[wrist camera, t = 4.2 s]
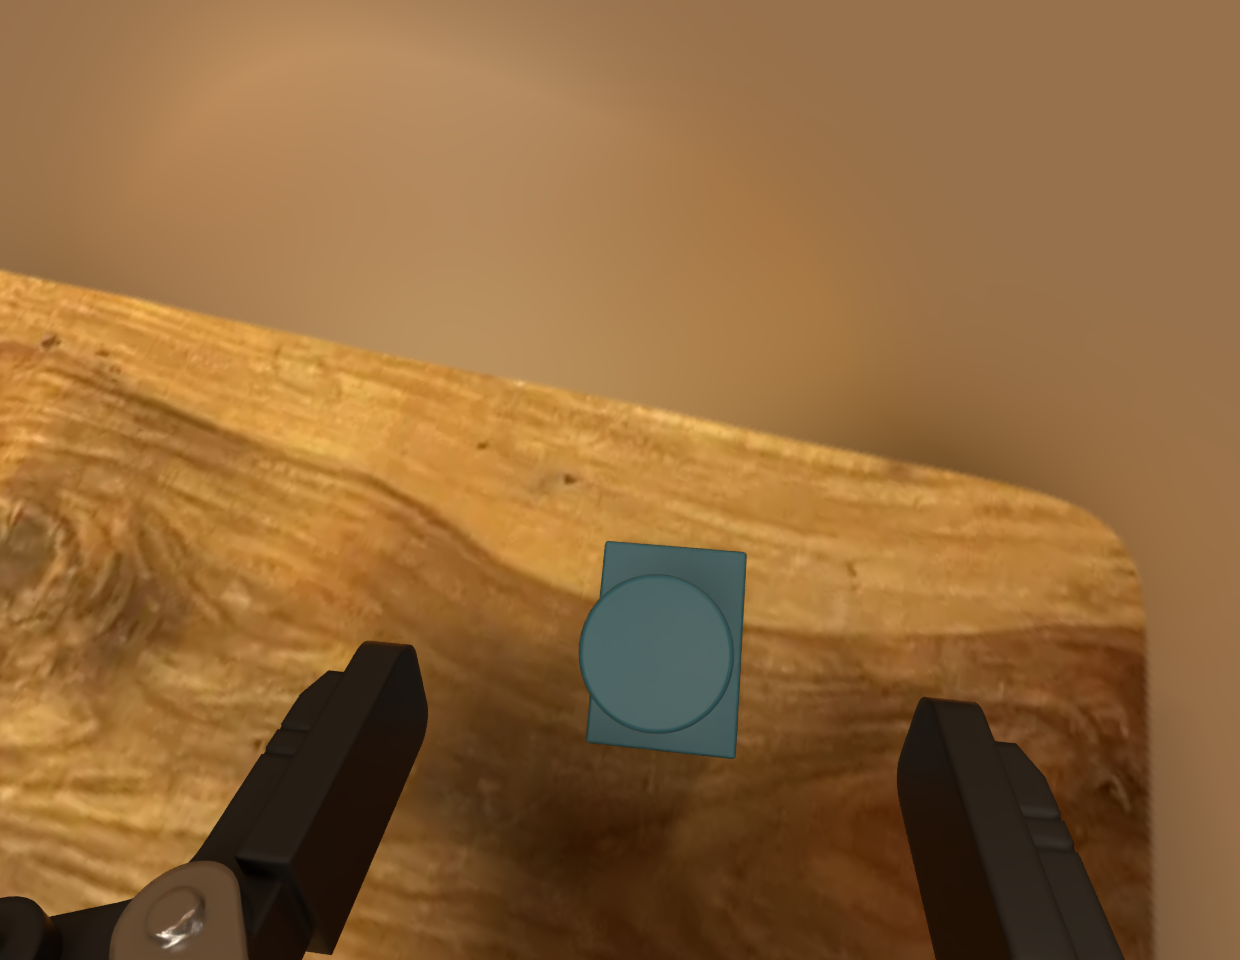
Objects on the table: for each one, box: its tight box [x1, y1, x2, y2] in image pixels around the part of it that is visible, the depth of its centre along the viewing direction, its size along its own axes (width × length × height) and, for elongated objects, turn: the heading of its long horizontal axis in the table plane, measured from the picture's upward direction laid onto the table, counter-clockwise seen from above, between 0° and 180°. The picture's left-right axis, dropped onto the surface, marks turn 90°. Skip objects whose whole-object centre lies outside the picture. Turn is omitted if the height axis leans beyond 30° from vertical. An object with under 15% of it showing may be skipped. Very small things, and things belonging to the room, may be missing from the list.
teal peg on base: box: [579, 541, 747, 759], centre depth 16 cm, size 5×4×12 cm
